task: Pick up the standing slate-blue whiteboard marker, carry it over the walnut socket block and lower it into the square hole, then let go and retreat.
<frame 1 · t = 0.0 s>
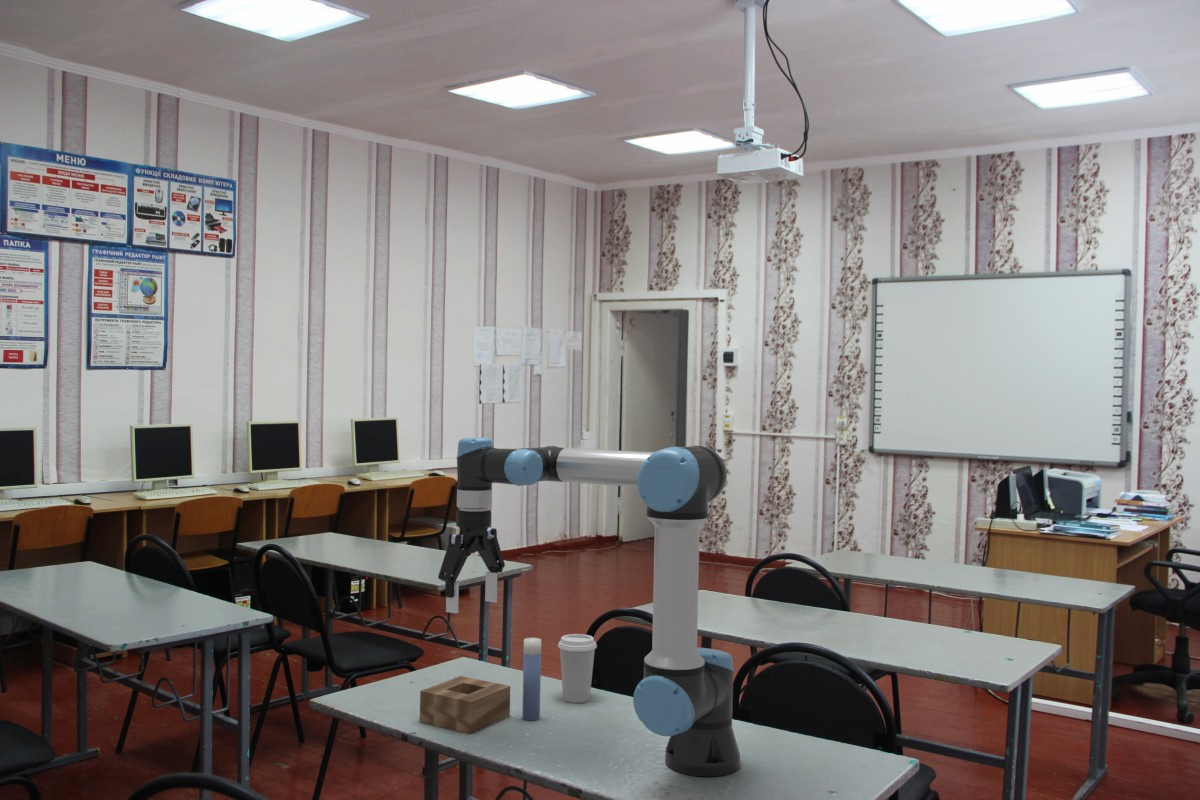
hand: (472, 607, 216), 28 cm above the table, fingers open, 13 cm apart
coffee cup: (576, 699, 244), on the table
socket block: (465, 719, 228), on the table
marker: (531, 718, 229), on the table
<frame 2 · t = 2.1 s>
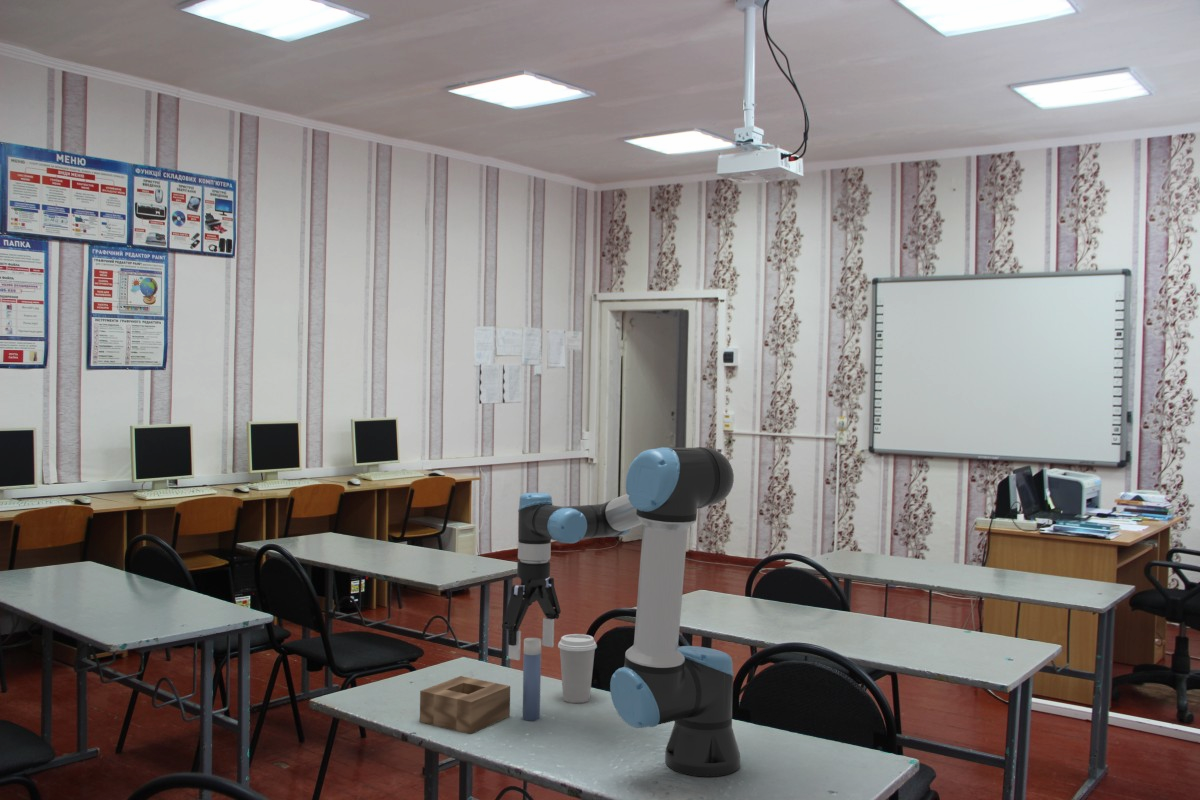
hand: (531, 652, 229), 15 cm above the table, fingers open, 13 cm apart
nothing on the table moved.
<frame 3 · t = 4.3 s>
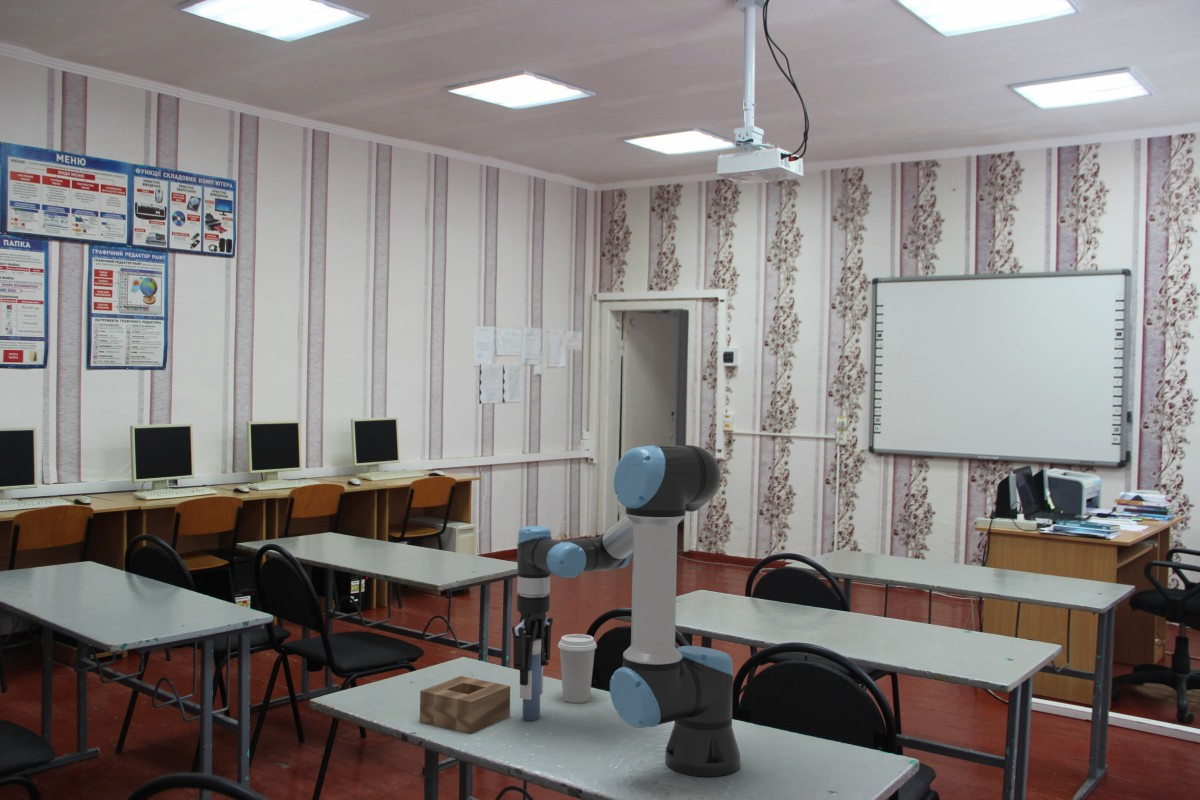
hand: (531, 695, 229), 5 cm above the table, fingers closed on marker, 4 cm apart
marker: (531, 718, 229), on the table, touching gripper
everything else where it was.
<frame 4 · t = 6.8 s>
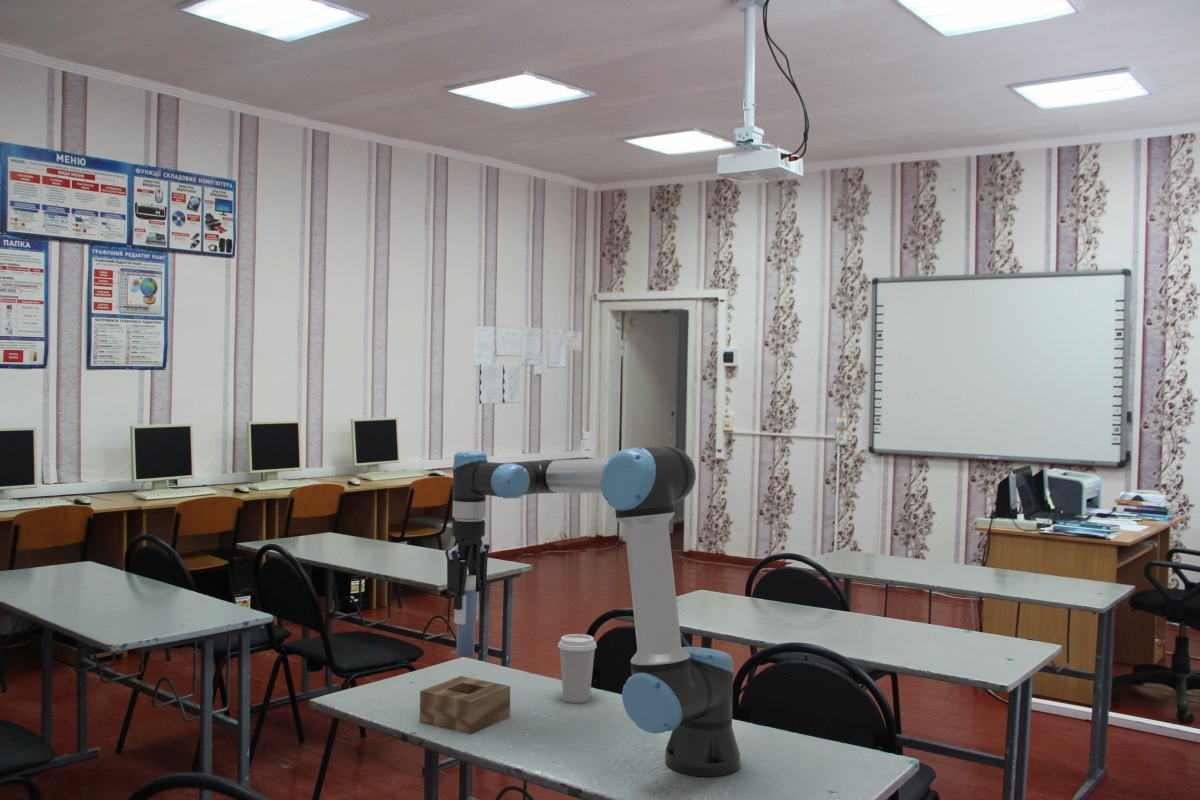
hand: (466, 621, 228), 22 cm above the table, fingers closed on marker, 4 cm apart
marker: (465, 654, 228), point 15 cm above the table, touching gripper
everything else where it was.
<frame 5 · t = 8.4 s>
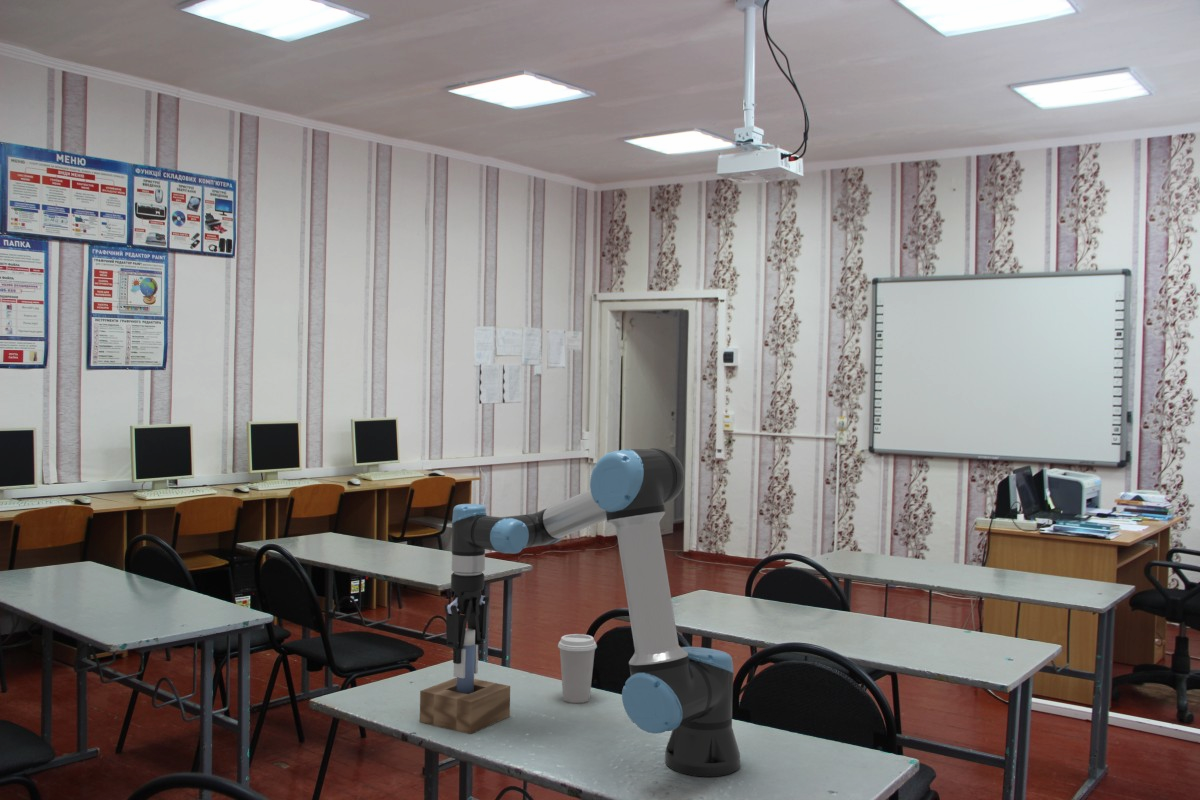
hand: (465, 674, 228), 10 cm above the table, fingers closed on marker, 4 cm apart
marker: (464, 709, 228), point 2 cm above the table, touching gripper
everything else where it was.
when the fingers open (8 cm above the table, at t = 9.4 s): marker stays where it is, resting in socket block.
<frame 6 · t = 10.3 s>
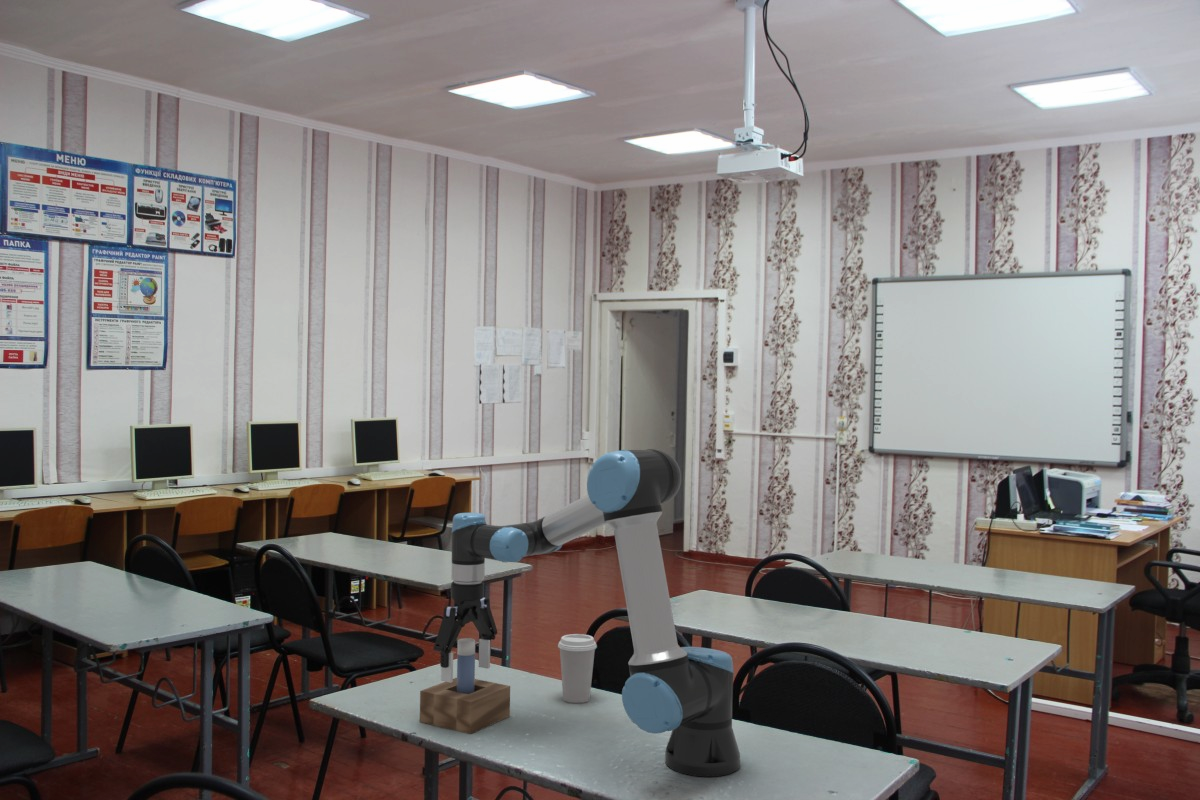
hand: (466, 674, 228), 10 cm above the table, fingers open, 13 cm apart
marker: (465, 719, 228), resting in socket block
everything else where it was.
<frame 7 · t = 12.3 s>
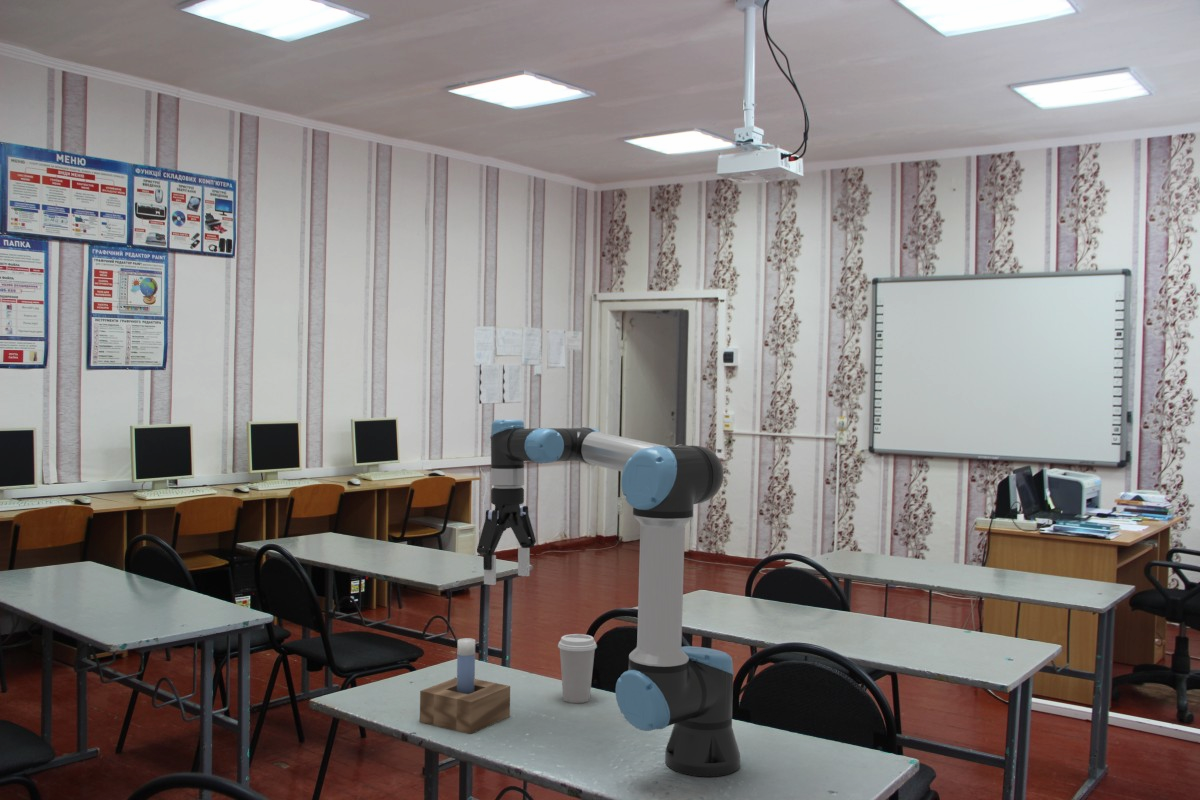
hand: (507, 580, 228), 32 cm above the table, fingers open, 13 cm apart
nothing on the table moved.
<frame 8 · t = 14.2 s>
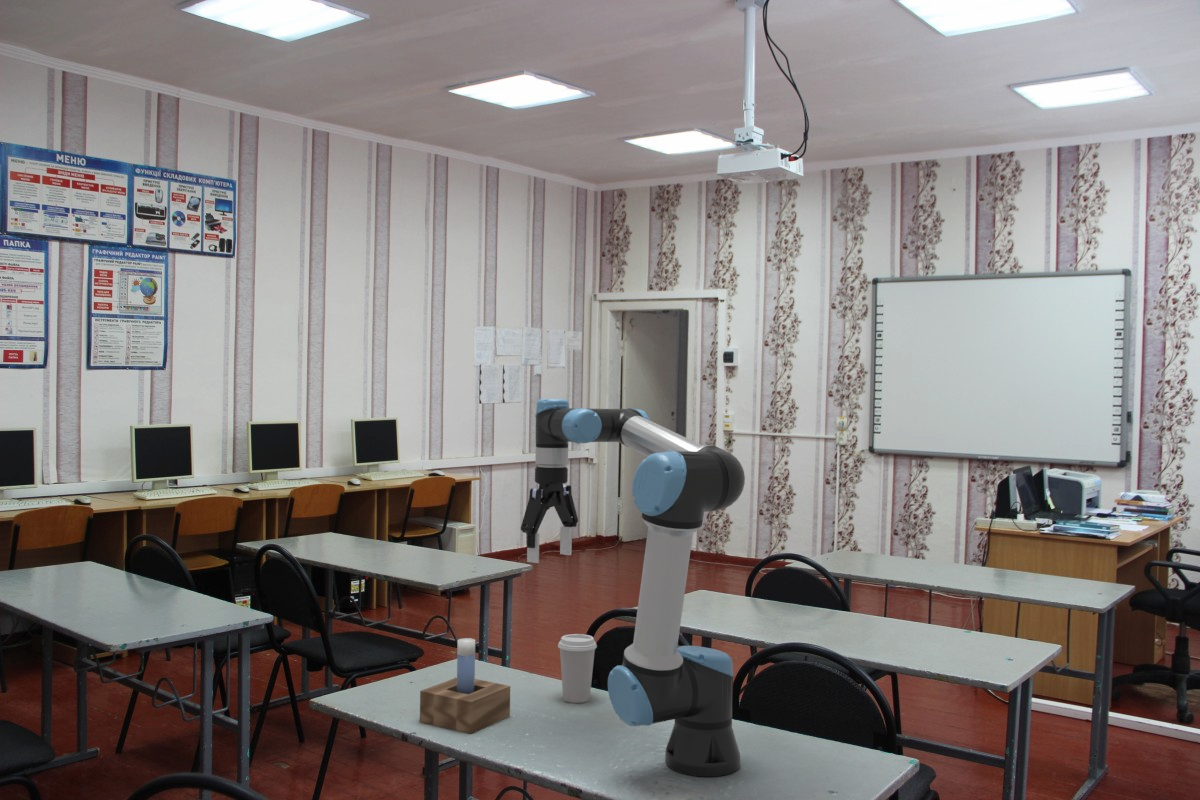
hand: (549, 558, 229), 37 cm above the table, fingers open, 13 cm apart
nothing on the table moved.
at the end: marker 0.0 cm off-centre on the socket block, point 0.0 cm above the socket block's base; marker tilted 0°; the gripper is holding nothing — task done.
